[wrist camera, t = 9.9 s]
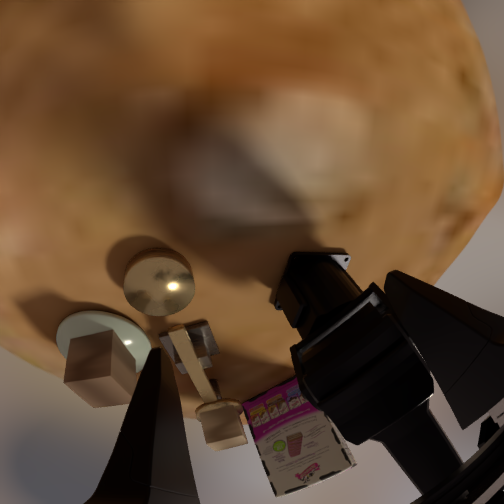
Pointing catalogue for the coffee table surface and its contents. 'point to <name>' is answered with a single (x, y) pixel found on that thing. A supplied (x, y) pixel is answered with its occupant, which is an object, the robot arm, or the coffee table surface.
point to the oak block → (223, 428)
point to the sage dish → (100, 322)
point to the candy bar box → (295, 439)
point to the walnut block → (101, 369)
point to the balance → (169, 302)
